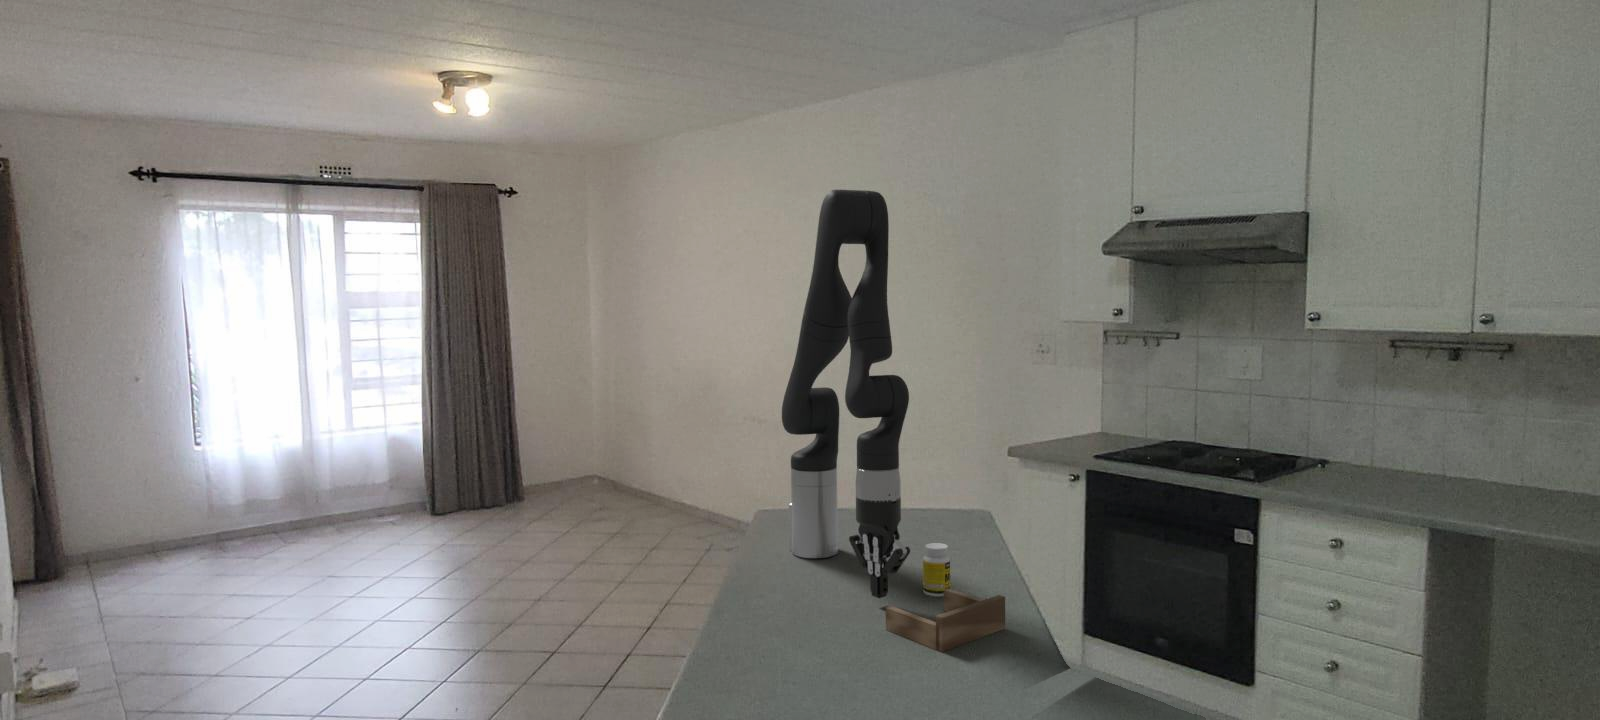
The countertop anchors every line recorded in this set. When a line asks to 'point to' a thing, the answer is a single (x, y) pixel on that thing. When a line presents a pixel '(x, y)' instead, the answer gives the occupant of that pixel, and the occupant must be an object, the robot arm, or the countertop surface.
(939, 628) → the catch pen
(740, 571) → the countertop surface
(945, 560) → the supplement bottle
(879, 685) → the countertop surface
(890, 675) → the countertop surface
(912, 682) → the countertop surface
